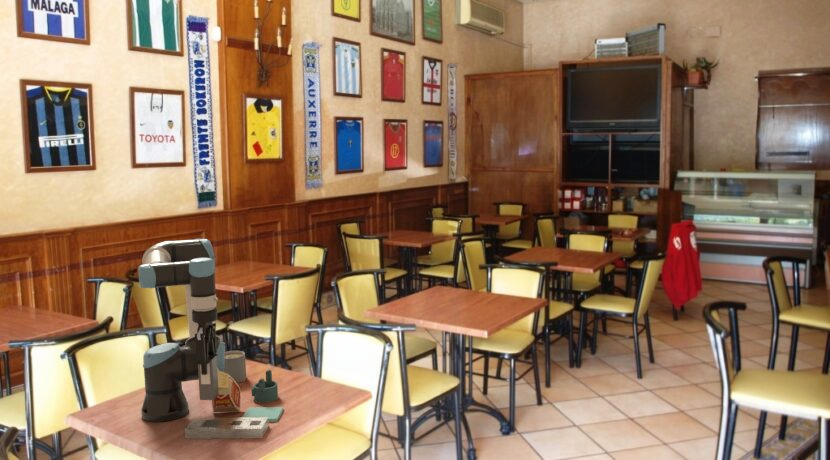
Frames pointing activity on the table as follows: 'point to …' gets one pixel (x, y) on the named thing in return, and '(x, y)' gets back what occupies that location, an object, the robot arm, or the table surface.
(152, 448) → the table surface
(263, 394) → the bracket
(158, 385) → the robot arm
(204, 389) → the grey rectangular block
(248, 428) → the rail
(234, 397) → the milk carton
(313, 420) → the table surface
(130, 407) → the table surface
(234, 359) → the coffee mug
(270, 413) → the teal pad
